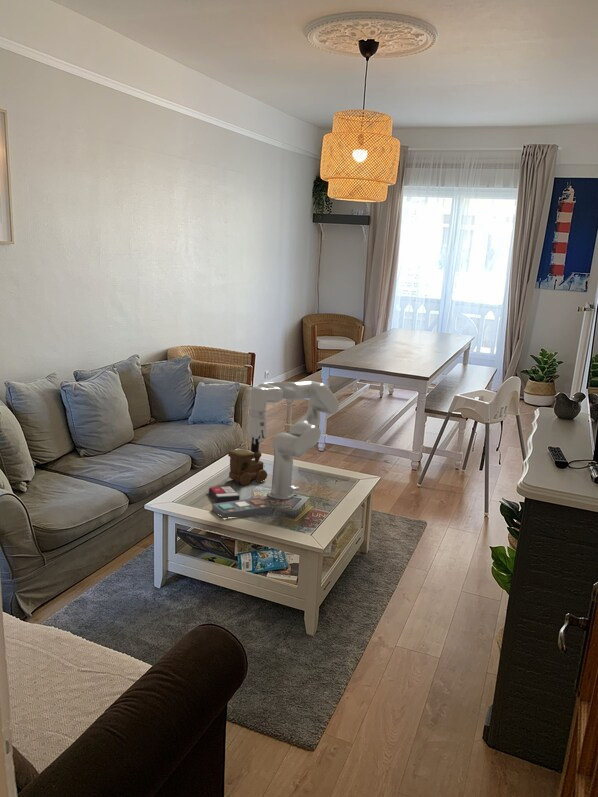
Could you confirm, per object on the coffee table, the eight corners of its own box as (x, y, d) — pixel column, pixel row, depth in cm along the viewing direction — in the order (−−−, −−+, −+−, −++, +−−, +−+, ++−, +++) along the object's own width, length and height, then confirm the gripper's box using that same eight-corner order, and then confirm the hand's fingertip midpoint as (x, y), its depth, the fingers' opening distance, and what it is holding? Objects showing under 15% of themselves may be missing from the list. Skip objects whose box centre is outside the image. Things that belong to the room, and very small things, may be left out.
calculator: (230, 485, 304) (239, 494, 290) (230, 493, 305) (239, 503, 291) (208, 486, 300) (217, 495, 286) (208, 495, 300) (216, 504, 287)
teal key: (228, 508, 279) (228, 503, 279) (233, 512, 275) (234, 507, 275) (218, 510, 277) (218, 504, 276) (223, 514, 272) (223, 508, 272)
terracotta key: (259, 504, 288) (259, 499, 288) (264, 508, 284) (265, 502, 284) (249, 505, 285) (250, 500, 285) (255, 509, 281) (255, 504, 281)
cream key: (244, 506, 284) (244, 501, 283) (249, 510, 280) (249, 505, 279) (234, 507, 281) (234, 502, 280) (239, 511, 277) (240, 506, 276)
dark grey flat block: (258, 503, 292) (258, 497, 291) (271, 512, 282) (271, 505, 282) (212, 510, 279) (212, 503, 278) (223, 519, 269) (224, 512, 268)
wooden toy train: (237, 487, 312) (239, 455, 309) (225, 480, 320) (227, 449, 317) (269, 481, 325) (271, 451, 322) (256, 475, 333) (258, 445, 330)
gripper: (272, 416, 280) (269, 455, 283) (256, 409, 292) (253, 447, 295) (258, 417, 276) (255, 457, 279) (242, 410, 288) (239, 448, 291)
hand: (254, 451), depth 287 cm, fingers closed
